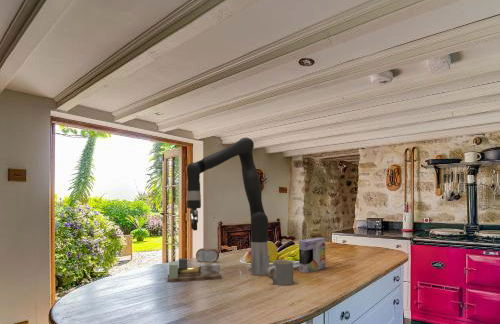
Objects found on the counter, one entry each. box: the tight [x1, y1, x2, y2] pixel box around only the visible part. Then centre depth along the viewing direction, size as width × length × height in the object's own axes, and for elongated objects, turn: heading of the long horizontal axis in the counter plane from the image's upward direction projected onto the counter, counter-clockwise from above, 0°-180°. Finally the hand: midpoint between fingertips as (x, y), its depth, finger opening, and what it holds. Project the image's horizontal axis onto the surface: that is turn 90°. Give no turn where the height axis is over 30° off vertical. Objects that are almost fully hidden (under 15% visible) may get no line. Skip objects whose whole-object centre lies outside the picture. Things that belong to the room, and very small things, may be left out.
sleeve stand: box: [167, 262, 222, 283], centre depth 176 cm, size 26×10×6 cm, turn 104°
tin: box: [195, 247, 220, 263], centre depth 219 cm, size 15×3×8 cm, turn 84°
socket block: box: [168, 261, 179, 279], centre depth 173 cm, size 4×8×6 cm, turn 14°
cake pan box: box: [298, 236, 326, 274], centre depth 194 cm, size 19×5×18 cm, turn 129°
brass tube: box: [178, 257, 201, 275], centre depth 176 cm, size 17×4×8 cm, turn 104°
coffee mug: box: [266, 259, 294, 286], centre depth 167 cm, size 13×10×10 cm
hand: (194, 229), depth 184 cm, fingers open, 8 cm apart
